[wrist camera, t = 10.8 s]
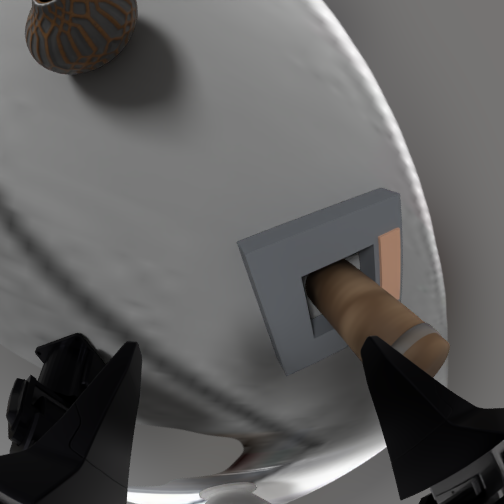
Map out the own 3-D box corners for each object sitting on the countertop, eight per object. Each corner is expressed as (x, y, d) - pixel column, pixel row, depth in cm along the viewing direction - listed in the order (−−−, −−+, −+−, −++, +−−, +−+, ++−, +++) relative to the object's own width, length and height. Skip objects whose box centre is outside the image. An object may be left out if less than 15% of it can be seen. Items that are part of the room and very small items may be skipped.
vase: (91, 100, 14) (35, 75, 6) (37, 56, 11) (-24, 24, 3) (162, 29, 13) (159, -38, 6) (104, -10, 10) (78, -72, 3)
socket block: (278, 359, 27) (287, 378, 25) (236, 241, 21) (245, 256, 19) (386, 304, 29) (401, 317, 27) (381, 187, 23) (402, 194, 20)
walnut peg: (323, 313, 26) (402, 408, 15) (293, 286, 24) (380, 394, 13) (360, 276, 26) (453, 355, 14) (335, 243, 24) (445, 327, 12)
